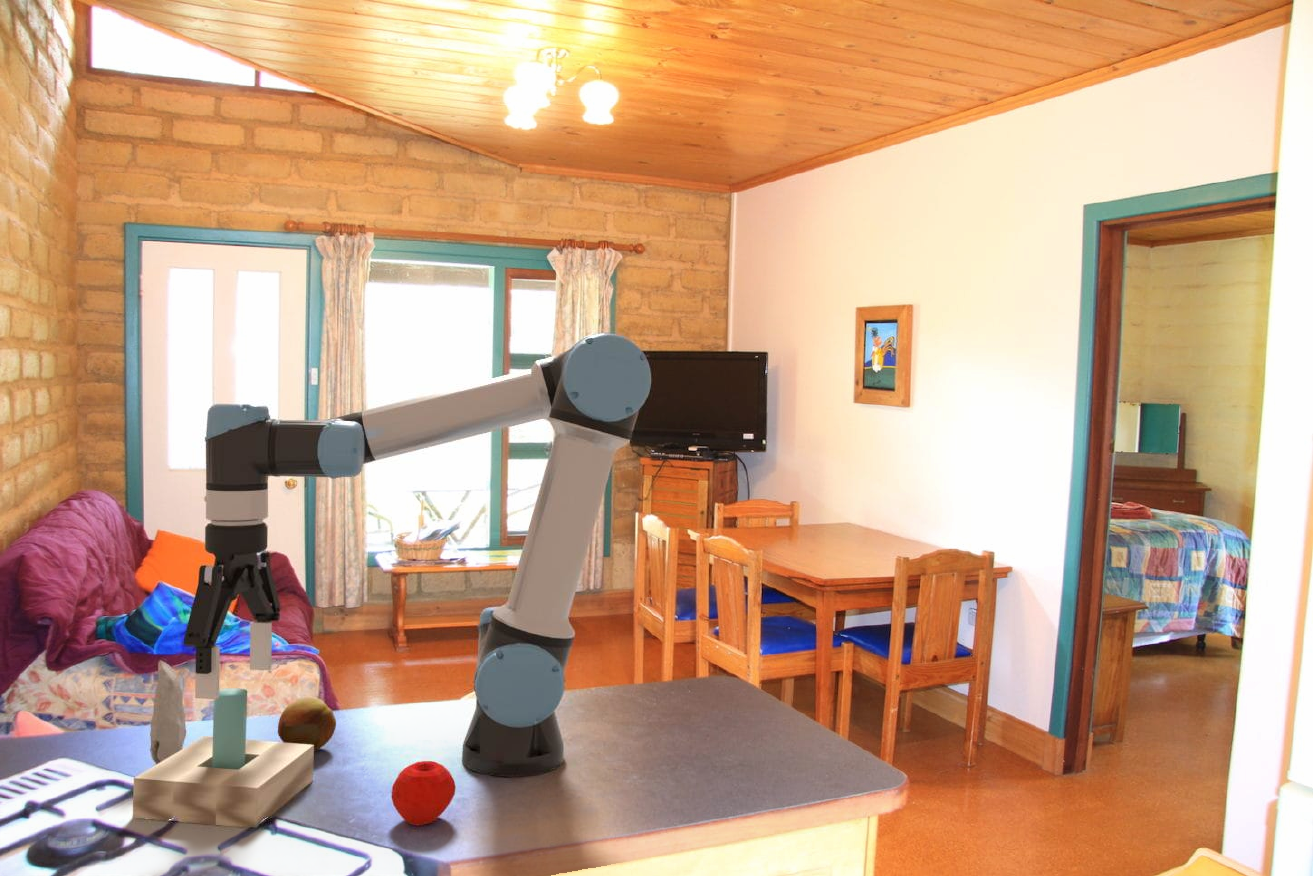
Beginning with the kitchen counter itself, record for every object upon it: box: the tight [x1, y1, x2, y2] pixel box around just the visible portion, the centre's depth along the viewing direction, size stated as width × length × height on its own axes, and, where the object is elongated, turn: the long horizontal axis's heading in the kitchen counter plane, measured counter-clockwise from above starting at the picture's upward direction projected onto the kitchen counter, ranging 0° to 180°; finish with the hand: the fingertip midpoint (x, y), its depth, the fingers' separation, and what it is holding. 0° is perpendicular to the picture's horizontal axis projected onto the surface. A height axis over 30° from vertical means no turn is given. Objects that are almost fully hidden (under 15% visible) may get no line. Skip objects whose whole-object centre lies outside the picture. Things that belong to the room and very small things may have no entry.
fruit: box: [277, 696, 337, 752], centre depth 149 cm, size 8×8×8 cm
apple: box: [391, 760, 457, 826], centre depth 126 cm, size 8×8×7 cm
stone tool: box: [149, 660, 187, 765], centre depth 140 cm, size 9×3×15 cm, turn 8°
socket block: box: [132, 736, 315, 829], centre depth 130 cm, size 16×16×5 cm
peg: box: [212, 687, 248, 770], centre depth 130 cm, size 4×4×14 cm
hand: (235, 683), depth 130 cm, fingers open, 13 cm apart
